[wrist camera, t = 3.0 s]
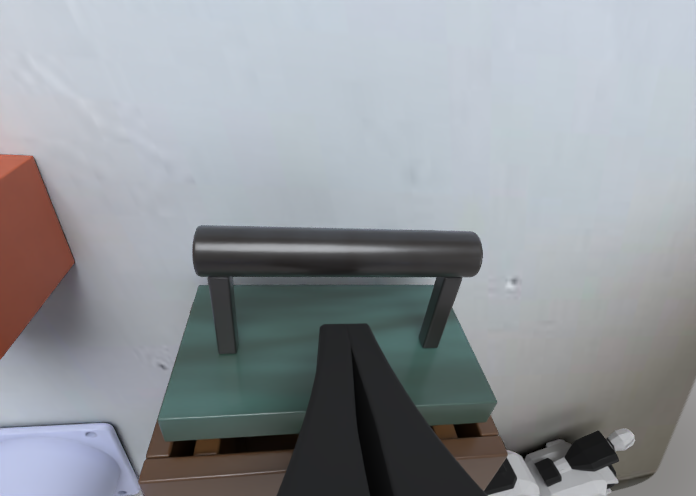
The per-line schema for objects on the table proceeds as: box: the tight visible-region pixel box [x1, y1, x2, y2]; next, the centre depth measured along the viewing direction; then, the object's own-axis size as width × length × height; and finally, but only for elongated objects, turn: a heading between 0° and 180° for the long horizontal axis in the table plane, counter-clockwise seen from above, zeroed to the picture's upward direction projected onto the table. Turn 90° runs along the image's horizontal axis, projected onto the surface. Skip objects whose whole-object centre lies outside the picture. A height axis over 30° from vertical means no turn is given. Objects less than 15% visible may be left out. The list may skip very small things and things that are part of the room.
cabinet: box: [138, 304, 508, 496], centre depth 18 cm, size 13×11×7 cm
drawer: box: [158, 225, 497, 456], centre depth 16 cm, size 17×10×6 cm, turn 174°
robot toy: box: [484, 428, 635, 496], centre depth 28 cm, size 12×4×15 cm
